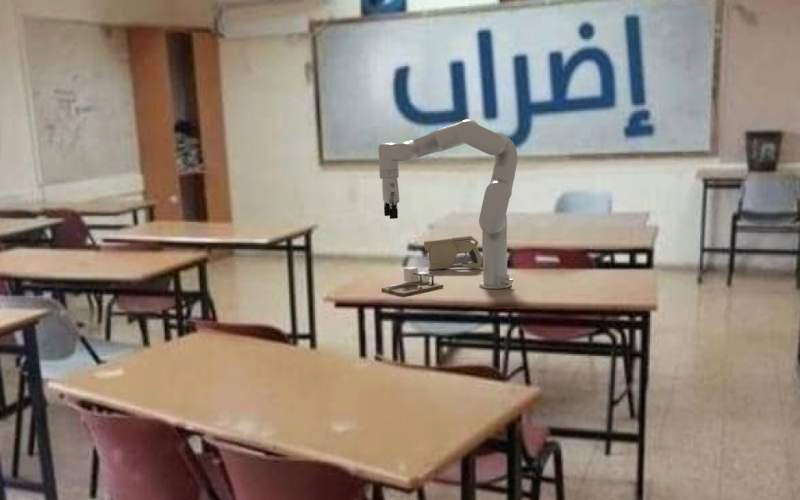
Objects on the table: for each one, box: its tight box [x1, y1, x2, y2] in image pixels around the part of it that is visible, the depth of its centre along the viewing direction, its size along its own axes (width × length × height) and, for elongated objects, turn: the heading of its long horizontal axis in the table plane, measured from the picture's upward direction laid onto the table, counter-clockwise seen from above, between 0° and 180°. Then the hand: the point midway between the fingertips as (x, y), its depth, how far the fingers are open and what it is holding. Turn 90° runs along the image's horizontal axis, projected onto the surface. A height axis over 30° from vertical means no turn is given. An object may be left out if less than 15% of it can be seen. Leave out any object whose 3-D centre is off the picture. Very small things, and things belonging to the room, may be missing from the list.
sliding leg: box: [403, 266, 422, 286], centre depth 316 cm, size 8×4×6 cm, turn 38°
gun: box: [423, 235, 483, 271], centre depth 350 cm, size 24×3×15 cm, turn 84°
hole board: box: [381, 281, 444, 297], centre depth 314 cm, size 14×20×1 cm
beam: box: [387, 271, 435, 290], centre depth 315 cm, size 8×19×4 cm, turn 128°
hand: (391, 217), depth 319 cm, fingers open, 9 cm apart
